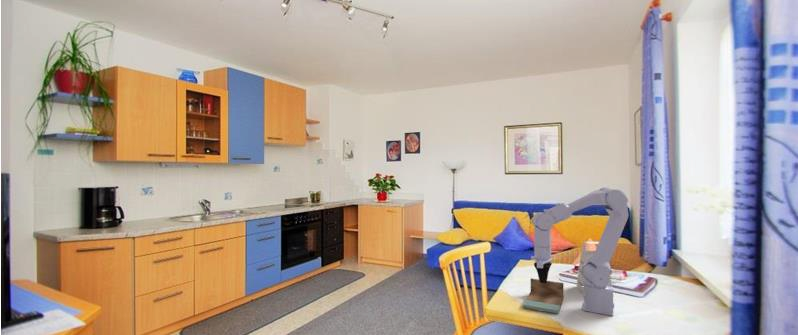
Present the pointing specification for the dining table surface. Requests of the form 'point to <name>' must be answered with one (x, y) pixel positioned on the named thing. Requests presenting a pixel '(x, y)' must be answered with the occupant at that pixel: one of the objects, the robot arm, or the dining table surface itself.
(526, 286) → the dining table surface
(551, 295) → the cart bed
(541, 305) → the panel
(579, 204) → the robot arm
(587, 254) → the grater
